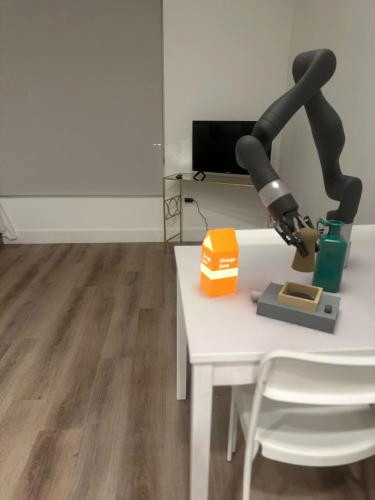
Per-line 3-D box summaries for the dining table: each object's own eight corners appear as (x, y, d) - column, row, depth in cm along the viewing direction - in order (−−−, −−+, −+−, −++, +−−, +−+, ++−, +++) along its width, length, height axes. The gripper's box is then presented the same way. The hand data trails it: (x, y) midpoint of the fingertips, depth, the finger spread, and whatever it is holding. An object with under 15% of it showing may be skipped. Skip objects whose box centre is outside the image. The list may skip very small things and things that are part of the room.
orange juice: (199, 287, 115) (202, 227, 108) (224, 283, 118) (227, 224, 111) (210, 298, 108) (214, 234, 101) (236, 293, 111) (241, 231, 104)
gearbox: (338, 309, 103) (342, 289, 101) (332, 333, 91) (336, 311, 89) (258, 291, 113) (260, 272, 111) (243, 310, 101) (245, 290, 99)
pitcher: (338, 283, 120) (350, 219, 113) (339, 293, 113) (352, 226, 105) (307, 278, 123) (317, 216, 115) (306, 288, 115) (316, 222, 108)
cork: (316, 273, 93) (322, 233, 90) (292, 271, 95) (297, 231, 91) (313, 265, 99) (319, 226, 95) (290, 263, 100) (295, 224, 96)
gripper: (272, 195, 91) (308, 253, 87) (302, 189, 100) (336, 241, 96) (253, 211, 96) (286, 267, 92) (283, 204, 105) (315, 254, 101)
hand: (312, 253), depth 94 cm, fingers closed on cork, 4 cm apart
